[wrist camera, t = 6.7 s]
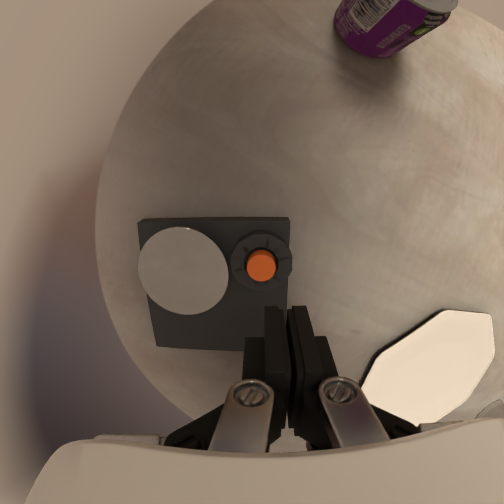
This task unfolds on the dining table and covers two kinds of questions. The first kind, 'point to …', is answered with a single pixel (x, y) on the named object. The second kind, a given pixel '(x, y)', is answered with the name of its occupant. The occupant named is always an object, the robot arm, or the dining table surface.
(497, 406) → the glass holder
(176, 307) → the weighing platter
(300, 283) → the dining table surface
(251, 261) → the tare button
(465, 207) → the dining table surface
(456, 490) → the robot arm
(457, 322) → the plate
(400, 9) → the beverage can
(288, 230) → the scale
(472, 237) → the dining table surface
